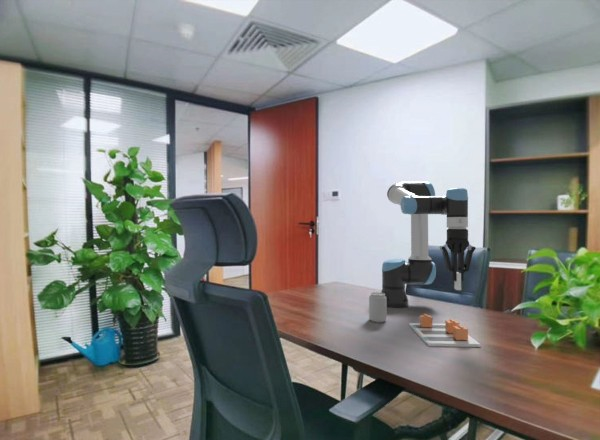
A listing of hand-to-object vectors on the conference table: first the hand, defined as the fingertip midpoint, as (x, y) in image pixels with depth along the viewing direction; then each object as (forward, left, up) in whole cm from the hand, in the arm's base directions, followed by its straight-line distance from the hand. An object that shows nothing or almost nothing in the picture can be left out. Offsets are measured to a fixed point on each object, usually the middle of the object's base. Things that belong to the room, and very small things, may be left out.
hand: (457, 289), depth 129 cm
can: (-18, -27, -18) cm, 37 cm away
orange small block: (-7, -10, -16) cm, 20 cm away
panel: (0, -6, -18) cm, 19 cm away
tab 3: (+7, -2, -16) cm, 18 cm away
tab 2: (0, -2, -16) cm, 16 cm away
